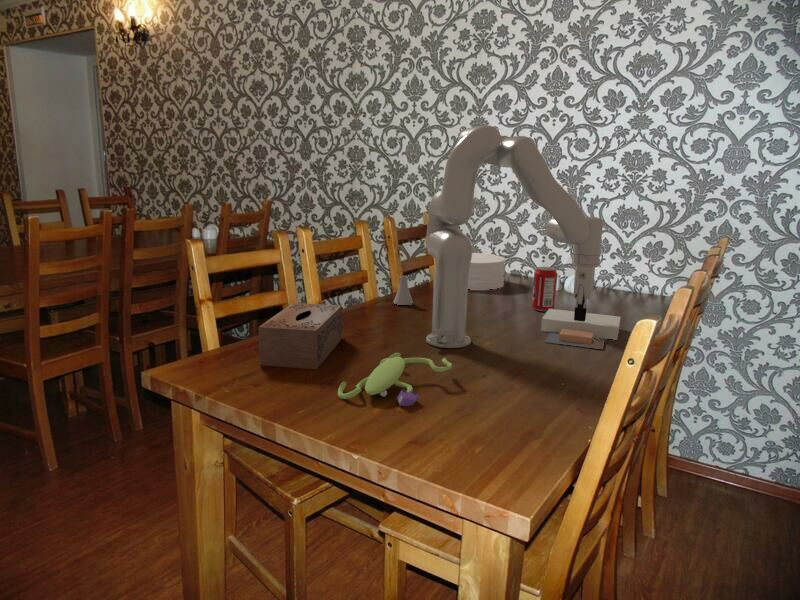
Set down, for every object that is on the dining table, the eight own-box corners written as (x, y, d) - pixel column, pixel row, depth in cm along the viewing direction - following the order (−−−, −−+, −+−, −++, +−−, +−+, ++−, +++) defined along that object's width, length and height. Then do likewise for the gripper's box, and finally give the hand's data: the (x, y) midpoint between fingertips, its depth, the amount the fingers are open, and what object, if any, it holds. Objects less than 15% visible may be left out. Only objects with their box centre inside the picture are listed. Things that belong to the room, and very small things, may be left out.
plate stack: (434, 288, 234) (435, 260, 231) (441, 276, 261) (442, 251, 258) (504, 292, 230) (505, 264, 227) (503, 279, 256) (505, 254, 254)
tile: (593, 332, 167) (593, 339, 167) (562, 328, 170) (561, 335, 170) (591, 338, 161) (591, 344, 162) (559, 333, 165) (558, 340, 165)
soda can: (545, 313, 196) (549, 270, 193) (527, 309, 202) (530, 267, 199) (558, 310, 202) (562, 268, 198) (540, 306, 207) (543, 265, 204)
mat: (603, 350, 157) (603, 349, 157) (544, 342, 164) (544, 341, 163) (606, 339, 168) (606, 338, 168) (550, 332, 174) (550, 331, 174)
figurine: (459, 378, 135) (460, 356, 134) (402, 418, 113) (403, 392, 112) (393, 363, 145) (394, 342, 143) (328, 398, 122) (328, 373, 121)
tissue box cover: (316, 370, 138) (316, 330, 136) (259, 366, 140) (258, 326, 138) (342, 339, 163) (342, 305, 161) (293, 336, 165) (292, 302, 163)
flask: (416, 303, 206) (417, 276, 204) (406, 307, 200) (406, 279, 198) (400, 301, 210) (400, 274, 208) (389, 304, 204) (389, 277, 202)
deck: (616, 340, 167) (618, 327, 166) (540, 331, 175) (541, 318, 174) (619, 329, 180) (620, 316, 179) (548, 320, 188) (549, 308, 187)
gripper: (597, 264, 158) (590, 328, 162) (601, 257, 172) (594, 316, 176) (569, 262, 161) (563, 324, 165) (575, 255, 174) (569, 313, 179)
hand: (579, 320), depth 170 cm, fingers closed
